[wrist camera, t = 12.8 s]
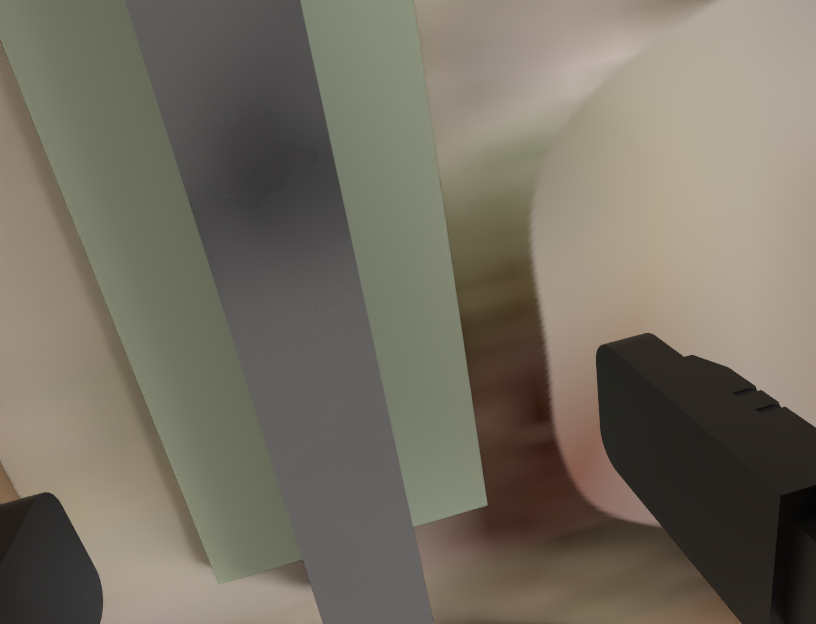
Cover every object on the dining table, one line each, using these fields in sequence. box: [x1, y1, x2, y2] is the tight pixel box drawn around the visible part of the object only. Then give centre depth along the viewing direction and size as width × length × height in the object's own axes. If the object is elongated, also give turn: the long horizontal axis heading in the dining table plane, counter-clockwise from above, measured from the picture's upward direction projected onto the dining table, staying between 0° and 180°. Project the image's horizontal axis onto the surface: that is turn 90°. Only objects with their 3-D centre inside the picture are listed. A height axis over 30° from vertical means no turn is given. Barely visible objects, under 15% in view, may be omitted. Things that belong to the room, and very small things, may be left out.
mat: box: [0, 0, 487, 584], centre depth 17 cm, size 9×19×1 cm, turn 10°
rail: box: [125, 0, 434, 624], centre depth 15 cm, size 24×3×3 cm, turn 10°
